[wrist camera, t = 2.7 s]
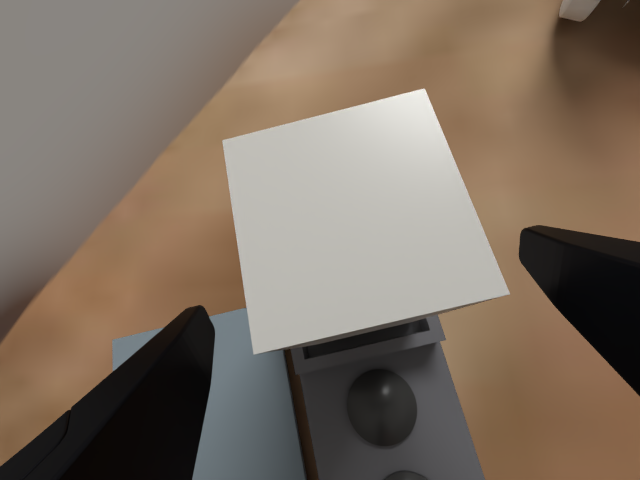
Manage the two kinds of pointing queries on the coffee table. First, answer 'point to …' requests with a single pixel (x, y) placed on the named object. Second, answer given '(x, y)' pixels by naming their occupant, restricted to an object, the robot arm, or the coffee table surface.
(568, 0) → the cable organizer
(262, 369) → the rubber pad
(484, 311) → the coffee table surface
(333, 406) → the power strip
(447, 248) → the block
